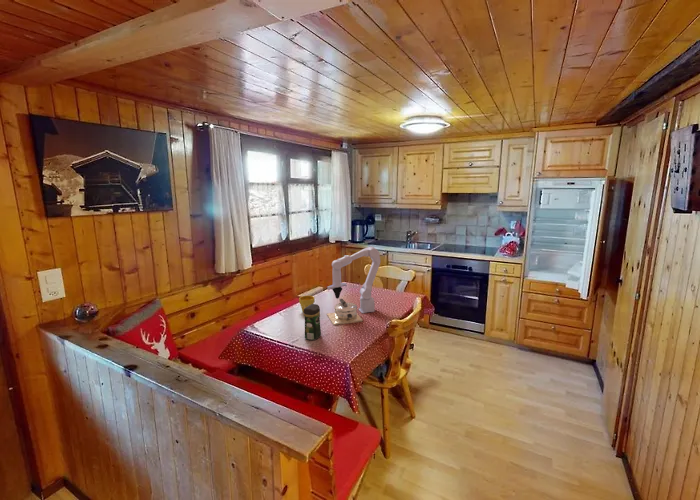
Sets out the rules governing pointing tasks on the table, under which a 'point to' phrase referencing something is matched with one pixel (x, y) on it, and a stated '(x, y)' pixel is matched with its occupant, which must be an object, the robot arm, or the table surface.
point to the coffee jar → (312, 322)
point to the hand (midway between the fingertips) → (337, 298)
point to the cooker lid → (345, 306)
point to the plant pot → (306, 301)
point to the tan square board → (344, 317)
